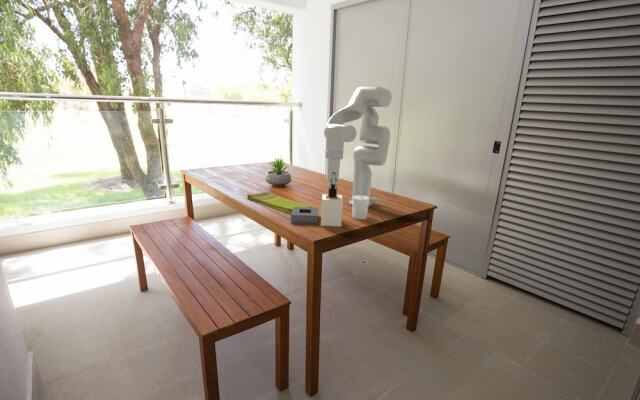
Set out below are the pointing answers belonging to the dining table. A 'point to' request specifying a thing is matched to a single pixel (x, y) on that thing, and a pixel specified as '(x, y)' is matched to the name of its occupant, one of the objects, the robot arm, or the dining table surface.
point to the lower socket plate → (304, 215)
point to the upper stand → (331, 211)
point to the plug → (328, 192)
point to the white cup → (360, 206)
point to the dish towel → (275, 201)
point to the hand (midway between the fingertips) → (332, 195)
